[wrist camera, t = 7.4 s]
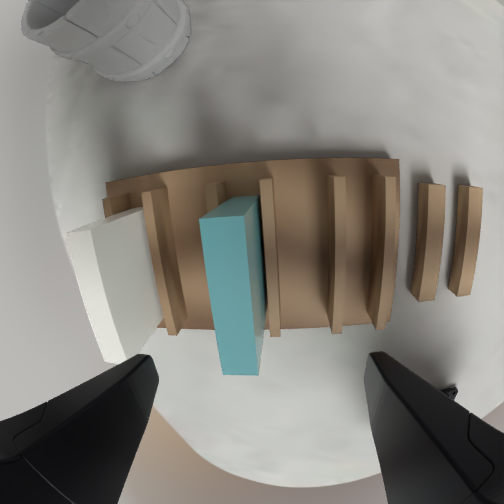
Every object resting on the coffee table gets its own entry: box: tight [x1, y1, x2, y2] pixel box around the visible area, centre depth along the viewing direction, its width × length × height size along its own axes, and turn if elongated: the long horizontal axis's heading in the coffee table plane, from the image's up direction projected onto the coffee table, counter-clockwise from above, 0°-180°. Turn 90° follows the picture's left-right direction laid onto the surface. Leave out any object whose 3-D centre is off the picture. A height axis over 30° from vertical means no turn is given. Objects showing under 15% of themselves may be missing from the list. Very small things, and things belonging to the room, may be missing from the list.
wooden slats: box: [411, 183, 483, 302], centre depth 16 cm, size 8×5×2 cm, turn 5°
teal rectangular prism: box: [199, 195, 267, 375], centre depth 14 cm, size 7×2×7 cm, turn 5°
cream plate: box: [66, 206, 164, 364], centre depth 15 cm, size 7×2×7 cm, turn 5°
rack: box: [102, 158, 400, 337], centre depth 17 cm, size 11×19×4 cm, turn 95°
